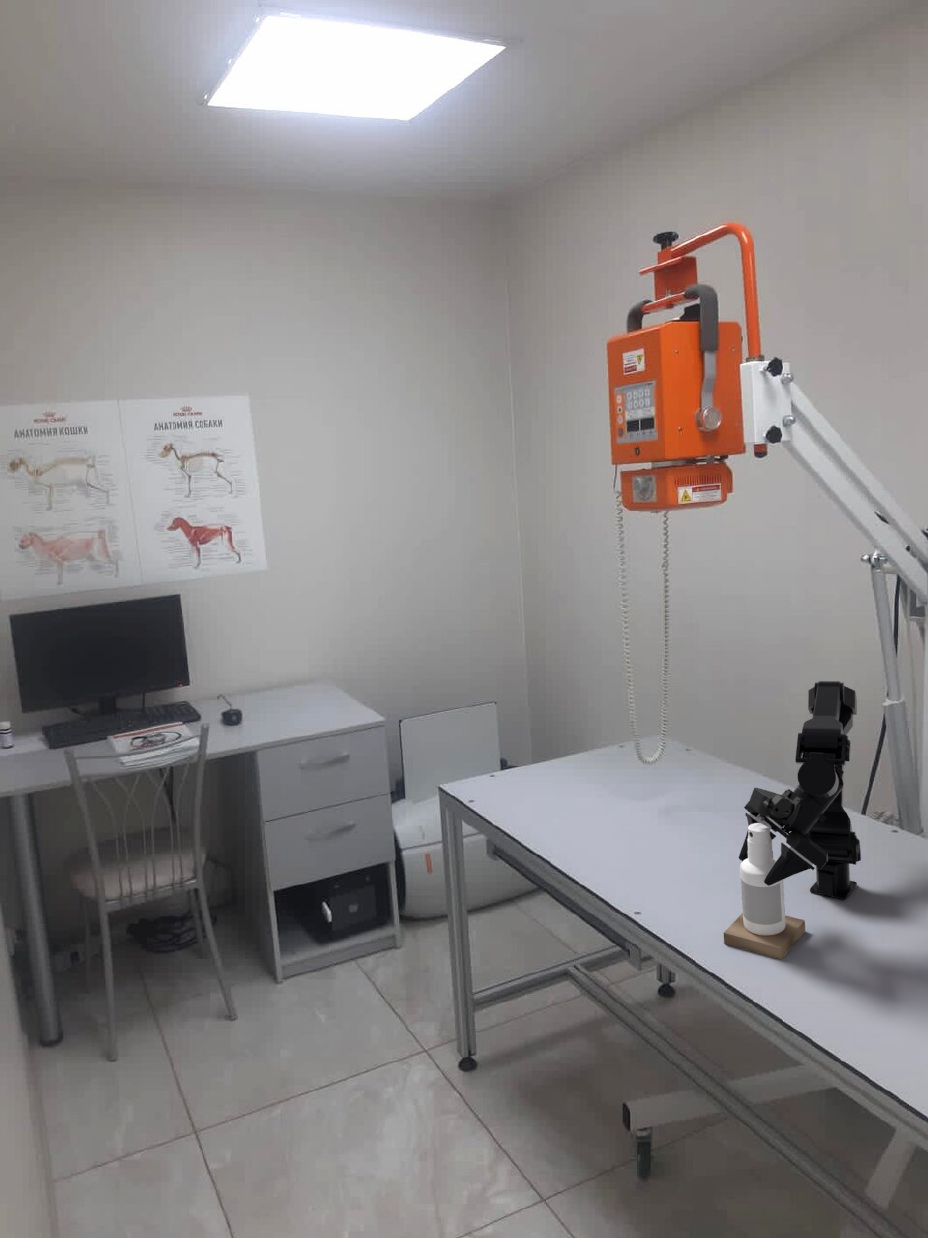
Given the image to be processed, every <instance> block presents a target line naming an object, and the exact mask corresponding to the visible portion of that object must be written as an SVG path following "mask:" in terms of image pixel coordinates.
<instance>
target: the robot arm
mask: <svg viewBox="0 0 928 1238" xmlns="http://www.w3.org/2000/svg"><path fill="white" fill-rule="evenodd" d="M807 694H808V695H807V696H808V699H807V701H808V702H807V709H808V712H809V714H810V715H812V718H810V719H808V720H806V721H804V722H803V724H802V729H801V732H798V733H797V741H796V749H795V750H796V751H795V763H796V764H799V765H800V764H801V766H800V767H799V768H798V771H797V781H798V785H797V787H795V789H794V790H791V789H790V788H788V789H786V790H784V792H783V793H782V794H780V793H776V792H775V791H771V790H766V789H762V788H758V787H754V788H753V790H752V793H751V795H750V798H749V801H748V802H747V803H746V804H745V805H744V807H743V808H744V809H745V810H746V811H747V812H748V813H747V812H745V813H744V815H745V817H746V819H747V823H748V826H749V825H751V824H754V823H761V824H763V825H765V826H767V827H769V828H770V836H771V839H772V841H773V840H775V838H776V837H777V835H776V834H774V833H777V832H778V833H779V834H780V835H781V836H783V837H784V838H785V839H786V840H785V843H786V844H787V845H788V846H787V845H786V844H785V843H784V842H780V856H779V857H778V858H777V859H776V860H777V861H776V863H775V864H774V866H773V867H772V869H771V870H770V872H769V873H768V875H767V876H766V878H765V880H764V883H765V884H767V885H768V886H770V885H772V884H774V883H777V882H779V881H781V880H783V881H784V880H785V879H787V878H790V877H792V876H794V875H797V874H800V873H803V872H805V871H808V870H811V871H814V870H815V873H816V874H815V875H816V880H815V882H814V883H813V884H812V885H811V886H810V888H809V892H811V893H814V894H817V895H822V896H827V897H830V898H836V899H839V900H847V898H848V897H849V896H850V894H851V893H852V892H853V890H855V889H856V887H858V886H857V885H858V883H857V881H854V880H851V877H850V876H851V874H850V871H851V870H850V865H854V866H855V865H857V863H858V862H861V861H862V852H861V849H862V848H861V842H860V839H858V837H857V835H856V834H857V833H856V831H853V827H852V822H851V818H850V817H849V815H848V812H847V811H846V810H845V809H844V787H845V781H844V780H845V779H844V773H845V771H844V766H846V764H847V762H850V760H851V748H852V747H851V746H852V745H851V744H852V743H851V740H850V739H849V736H848V735H847V734H848V733H849V732H850V731H851V730H852V728H853V727H854V716H856V715H857V714H858V713H857V712H858V700H857V693H856V690H854V689H853V688H850V687H848V686H845V683H844V682H841V681H839V680H838V681H837V680H836V681H830V680H829V681H828V680H827V681H826V680H825V681H824V680H823V681H822V680H820V681H817V682H814V686H813V687H812V688H810V689H809V690H808V693H807ZM771 830H772V831H773V832H772V831H771ZM748 836H749V834H748V830H747V832H746V835H745V837H744V841H743V843H742V844H743V845H742V847H741V848H740V852H739V855H738V859H739V860H740V861H741V862H743V861H744V860H745V859H747V858H748V841H747V839H748ZM789 846H790V847H789ZM813 865H814V866H815V867H814V866H813Z"/></svg>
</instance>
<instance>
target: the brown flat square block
mask: <svg viewBox="0 0 928 1238" xmlns="http://www.w3.org/2000/svg"><path fill="white" fill-rule="evenodd" d="M785 921H786V925H785V929H784V930H783V931H782V932H780V933H779V934H775V935H770V936H763V935H757V934H753V933H751V932H749V931H748V930H747V929H746V928H745V926H744V922H743V912H741V914H740V915H739V916H738V917H737V918H736V919H735V920H734V921H732V923H731V924H730V925H729V926H728V927H727V928H726V930H724V932H723V943H724V945H728V946H731V947H735V948H740V949H742V950H746V951H750V952H753V953H757V954H761V955H764V956H767V957H770V958H771V957H772V958H775V959H779V960H781V961H782V960H783V959H784V957H785V956H786V955H787V954H788V953H789V951H790V950H791V949H792V948H793V946H794V945H795V944H796V943H797V941H798V940H799V939H800V938H801V937H802V936H803V934H804V933H805V932H806V921H805V920H804V919H800V918H797V917H794V916H790V915H785Z"/></svg>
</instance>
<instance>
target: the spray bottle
mask: <svg viewBox="0 0 928 1238" xmlns="http://www.w3.org/2000/svg"><path fill="white" fill-rule="evenodd" d="M747 831H748V834H749V836H748V839H747V841H748V858H747V859H745V860H744V861H741V862H740V867H739V873H740V874H739V875H740V885H741V886H740V890H741V903H742V904H741V905H742V913H743V922H744V926H745V928H746V929H747V930H748V931H749V932H751V933H753V934H757V935H763V936H770V935H775V934H779V933H780V932H782V931H783V930H784V929H785V925H786V921H785V916H786V904H785V890H784V889H785V885H784V879H783V880H781V881H779V882H777V883H774V884H772V885H770V886H768V885H767V884H765V883H764V880H765V878H766V876H767V875H768V873H769V872H770V870H771V869H772V867H773V866H774V864H775V863H776V861H777V860H778V859H776V858H774V851H773V840H772V839H771V836H770V831H771V829H770V828H769V827H767V826H765V825H763V824H761V823H754V824H751V825H749V826H748V827H747Z"/></svg>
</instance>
